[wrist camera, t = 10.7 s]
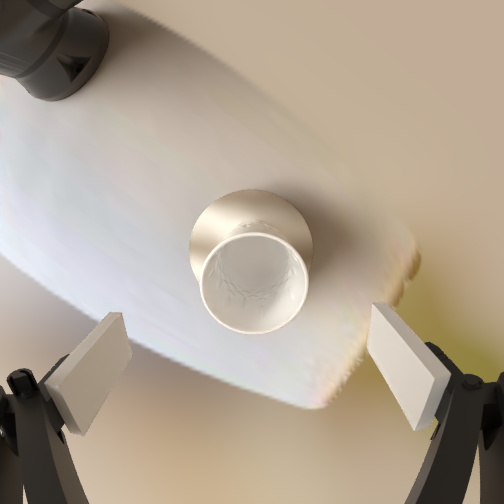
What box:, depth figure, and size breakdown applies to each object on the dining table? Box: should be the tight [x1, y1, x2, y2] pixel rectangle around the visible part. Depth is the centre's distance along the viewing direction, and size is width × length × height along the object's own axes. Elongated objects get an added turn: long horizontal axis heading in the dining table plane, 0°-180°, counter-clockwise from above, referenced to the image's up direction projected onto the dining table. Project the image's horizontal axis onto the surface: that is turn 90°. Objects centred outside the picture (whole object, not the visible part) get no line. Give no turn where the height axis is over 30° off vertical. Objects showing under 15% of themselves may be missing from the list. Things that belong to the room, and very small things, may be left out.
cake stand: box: [189, 190, 313, 283], centre depth 34 cm, size 13×13×6 cm
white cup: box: [200, 220, 309, 334], centre depth 26 cm, size 8×8×10 cm
